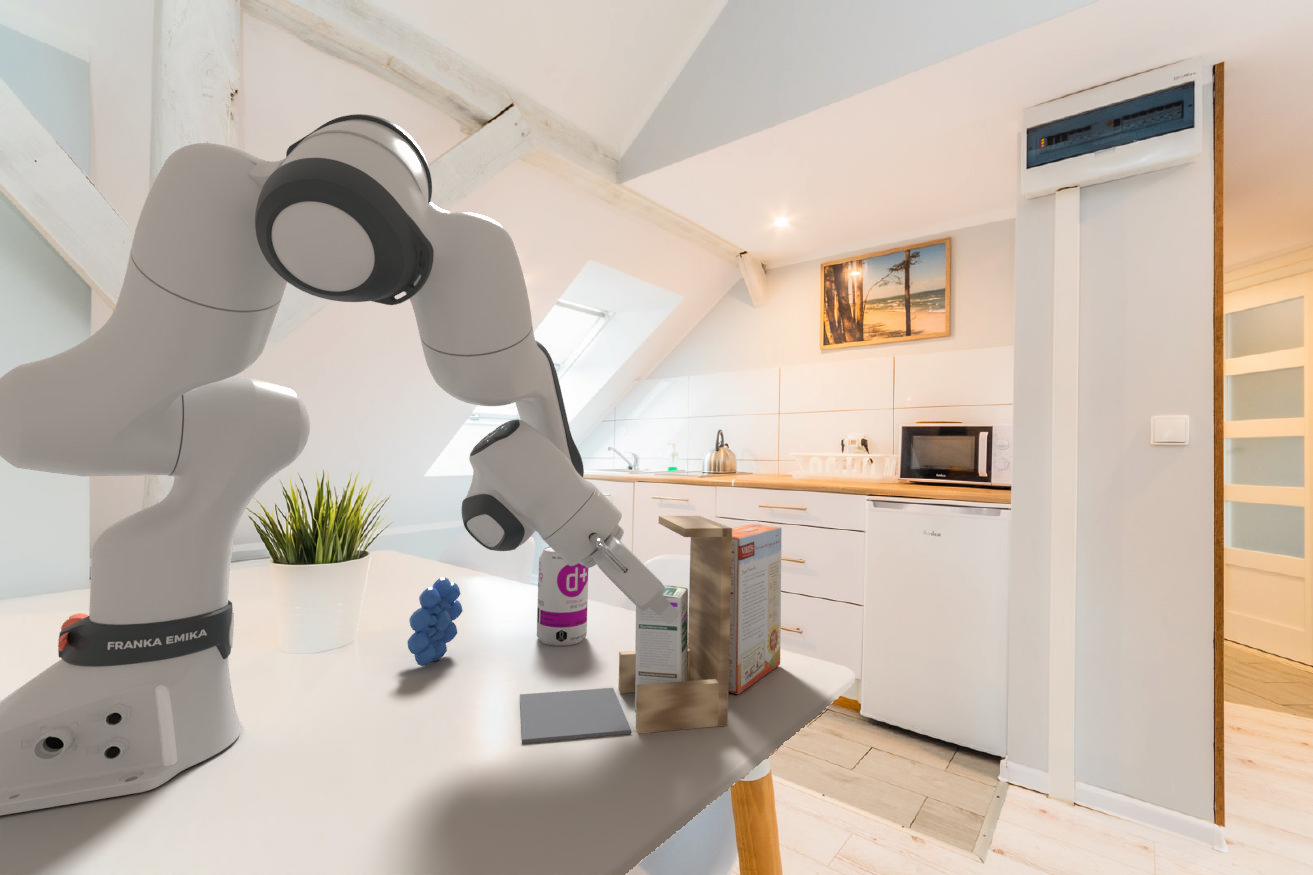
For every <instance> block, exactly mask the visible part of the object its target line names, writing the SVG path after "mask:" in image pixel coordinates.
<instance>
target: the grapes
mask: <svg viewBox="0 0 1313 875" xmlns="http://www.w3.org/2000/svg"><path fill="white" fill-rule="evenodd" d="M460 596H461V590H460V587H459V585H458V584H457V583H455V582H451V581H450V579H449V578H447V577H444V576H443V577H440V578H438V579H437V580H435V582H434V583H433V584H432V585H431V586H430V587H429V586H428V587H427V588H426V589H424V590H423V591H422V593H421V594H420V595H419V597H418V600H419V604H420V605H421V607H420V608H418V609H416V610H415V611H414V612H412V614H411V615H410V617H409V626H410V628H411V629H412V631H414V633H412V634H411V636H410V637H409V638H408V640H407V648H408V651H409V652H410V654H413V655H414V659H415V662H416V664H417V665H419V666H421V667H425V666H427V665H428V664H430V663H431V662H432V661H433V662H436V661H439V660H440V659H441V658H443V657H444V655H445V654H446V653H447V651H448V646H447V644H448V643H450V642H451V641H452V640H454V638H455V637H456V636H457V634H458V628H457V626H456V624H455V622H453V621H455V620H457V619H458V618H459V617H460V616H461V614H462V613H463V612H464V611H463V610H464V609H463V605H462V604H461V602H460V600H458V599H459V597H460Z"/></svg>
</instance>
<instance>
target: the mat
mask: <svg viewBox="0 0 1313 875" xmlns="http://www.w3.org/2000/svg"><path fill="white" fill-rule="evenodd" d="M519 710H520V729H521V730H520V731H521V733H520V734H521V744H529V743H530V744H531V743H540V742H541V743H542V742H552V741H562V740H572V739H573V740H574V739H583V738H586V739H587V738H596V737H607V736H618V735H630V734H632V729H631V726H630V724H629V722H628V720H627V717H626V714H625V712H624V710H623V707H622V706H621V703H620V700H619V698H618V696H617V693H616V691H615V689H614V687H605V688H603V687H602V688H589V689H577V690H565V691H563V690H562V691H547V692H535V693H534V692H533V693H522V694H521V693H520V694H519Z"/></svg>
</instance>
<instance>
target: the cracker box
mask: <svg viewBox="0 0 1313 875" xmlns="http://www.w3.org/2000/svg"><path fill="white" fill-rule="evenodd" d="M731 528H732V556H731V598H730V640H729V682H728V693H730V694H731V693H732V694H735V695H740V694H741V693H743V692H744V691H745V690H747V689H748V688H749V687H751V686H753V685H754V684H756V683H757V682H758V681H760V680H761V679H762V678H763V677H765V676H766V675H768V674H769V673H771V672H772V671H774V669H776V668H778V667H779V666H780V665H781V636H782V633H781V632H782V630H781V629H782V628H781V627H782V626H781V625H782V623H781V621H782V620H781V619H782V616H781V615H782V612H781V611H782V610H781V609H782V608H781V606H782V603H781V602H782V527H780V526H770V525H765V524H764V525H763V524H754V523H753V524H745V525H742V526H741V525H740V526H737V527H731Z"/></svg>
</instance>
